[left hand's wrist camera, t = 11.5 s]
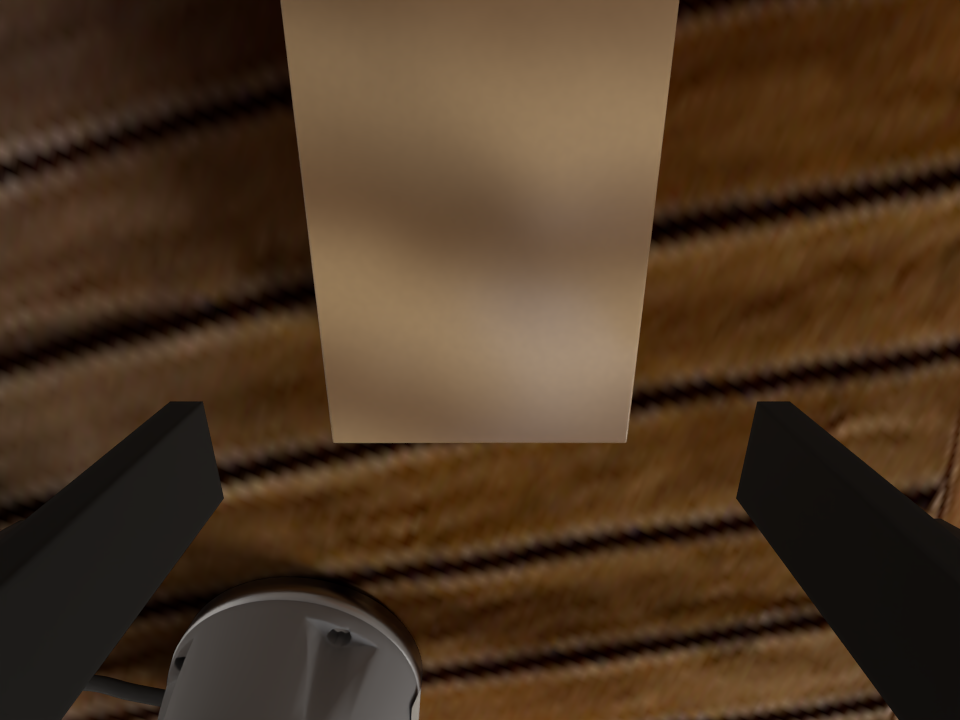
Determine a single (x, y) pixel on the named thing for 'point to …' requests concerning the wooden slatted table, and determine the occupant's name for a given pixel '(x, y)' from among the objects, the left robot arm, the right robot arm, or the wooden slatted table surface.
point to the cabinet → (479, 210)
